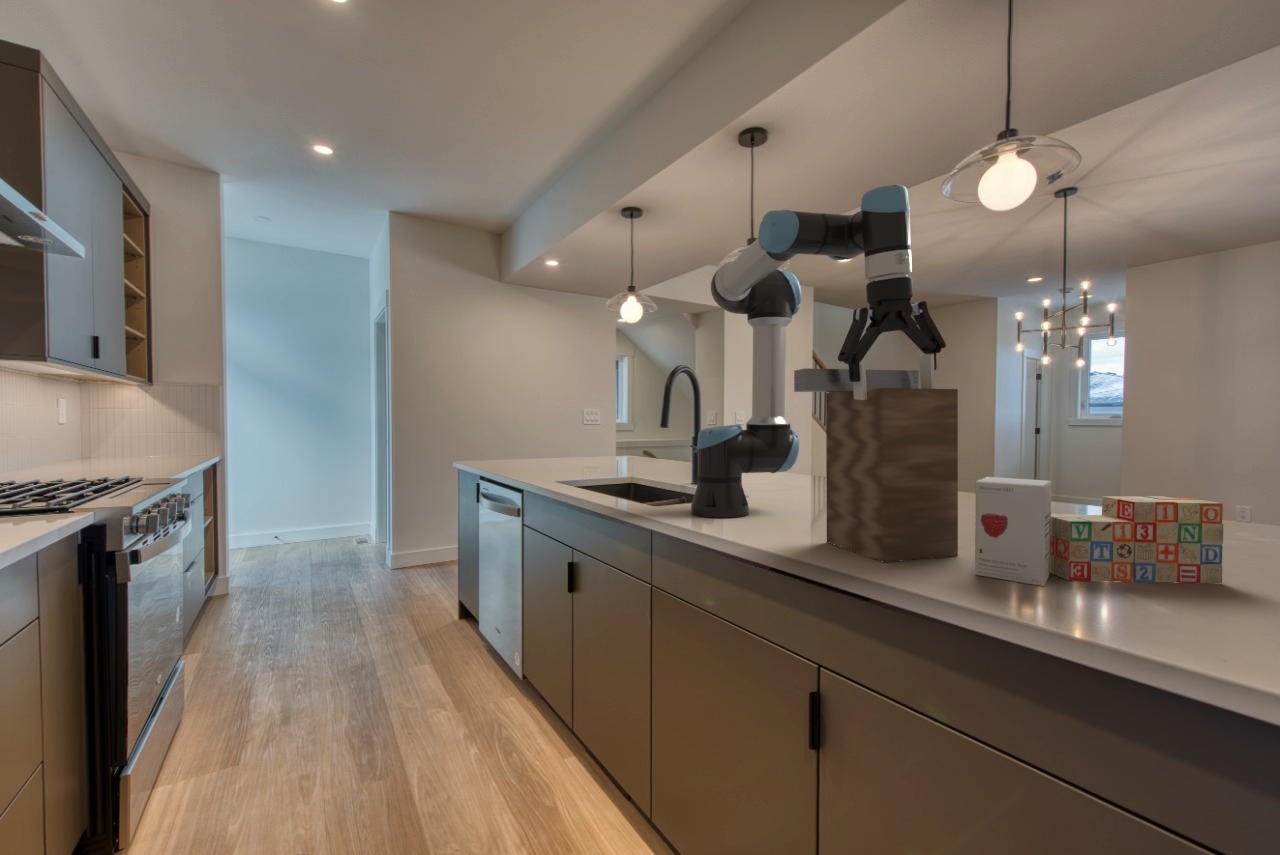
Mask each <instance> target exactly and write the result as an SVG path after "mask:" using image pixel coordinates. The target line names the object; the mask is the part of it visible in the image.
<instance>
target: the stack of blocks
mask: <svg viewBox="0 0 1280 855" xmlns="http://www.w3.org/2000/svg"><path fill="white" fill-rule="evenodd" d="M1101 500H1102V501H1101V514H1065V513H1064V514H1057V513H1056V514H1053V513H1051V531H1050V574H1052V575H1054V574H1055V575H1054V576H1056V575H1057V577H1059V578H1061V577H1062V578H1061V579H1063V578H1064V580H1066V579H1067V580H1066V581H1069V580H1079V581H1080V582H1083V581H1084V582H1088V581H1089V582H1099V581H1121V582H1120V583H1142V582H1182V583H1181V584H1184V583H1222V584H1223V547H1224V546H1223V544H1224V523H1223V517H1224V516H1223V509H1224V507H1223V505H1224V504H1223V503H1222V502H1215V501H1212V500H1211V501H1209V500H1204V499H1203V500H1202V499H1196V498H1190V497H1189V498H1188V497H1171V496H1170V497H1169V496H1162V495H1144V496H1127V495H1126V496H1124V495H1123V496H1119V495H1118V496H1117V495H1115V496H1109V495H1108V496H1107V495H1105V496H1104V495H1103V496H1102V499H1101ZM1081 580H1082V581H1081ZM1079 581H1078V582H1079Z"/></svg>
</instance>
